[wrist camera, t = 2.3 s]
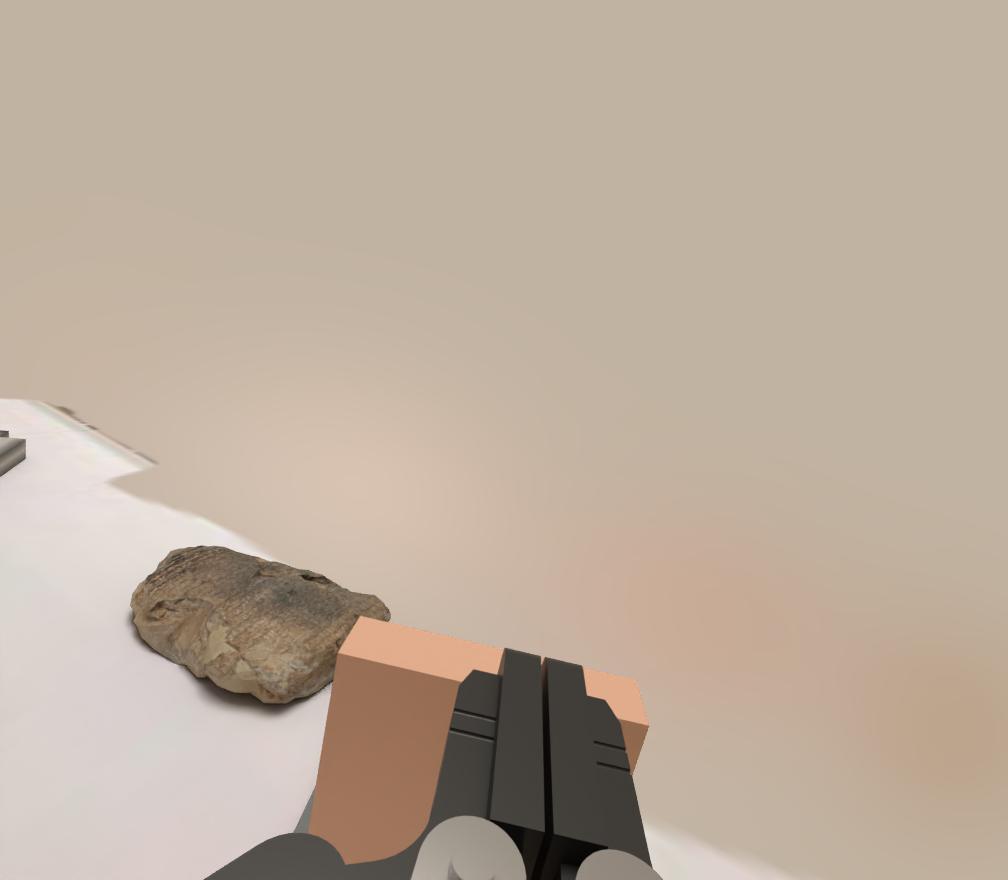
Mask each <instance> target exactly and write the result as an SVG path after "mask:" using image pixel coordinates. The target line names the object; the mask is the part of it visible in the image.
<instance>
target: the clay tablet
mask: <svg viewBox="0 0 1008 880" xmlns="http://www.w3.org/2000/svg"><path fill="white" fill-rule="evenodd" d="M130 606H131V607H132V609H133V613H134V614H135V619H134V620H133V622H134V623H135V624H136V626H137V627H138V630H139V633H140V636H141V638H142V639H143V640H145V641H146V642H147V643H148V644H149V645H150V646H151V647H152V648H153V649H154V650H155V651H157V652H158V653H160V654H161V655H163V656H164V657H166V658H169V659H170V660H171V661H172V662H173V663H175V664H179V665H187V667H188V668H189V669H190V670H191V671H192V672H193V674H194V675H196V676H197V677H198V678H199V677H209V678H210V679H211V680H212V681H213V682H214V683H215V684H216V685H217V686H219V687H222V688H224V689H226V690H229V691H231V692H233V693H250V694H252V695H254V696H255V697H257V698H259V699H260V700H261V701H262V702H263V703H288V702H289V701H291V700H293V699H294V698H300V697H307V696H309V695H311V694H313V693H315V692H317V691H319V690H320V689H321V688H322V687H324V686H325V685H326V684H327V683H329V682H330V681H332V680H333V679H334V673H335V667H336V661H337V655H338V652H339V650H340V648H341V647H342V645H343V643H344V642H345V640H346V638H347V637H348V635H349V634H350V632H351V630H352V629H353V627H354V625H355V624H356V622H357V620H358V619H359V617H360V616H363V617H368V618H372V619H376V620H380V621H385V622H388V621H389V620H390V618H391V614H390V611H389V609H388V608H387V607H386V606H385V604H384V603H383V602H382V601H381V600H380V599H379V598H377V597H376V596H375V595H368V594H361V593H355V592H350V591H349V590H348V589H343V588H342V587H341V586H339V585H338V584H336V583H334V582H332V581H331V580H330V579H327V578H326V577H325V576H323V575H321V574H317V573H314V572H312V571H309V570H299V569H296V568H293V567H290V566H288V565H285V564H281V563H278V562H270V561H267V560H264V559H261V558H259V557H255V556H250V555H246V554H243V553H239V552H235V551H232V550H230V549H228V548H225V547H219V546H209V547H207V546H197V547H188V548H183V549H177V550H173V551H171V552H170V553H169V554H168V555H167V557H166V558H165V559H164V560H163V561H161V562H160V563H159V565H158V567H157V569H156V571H155V572H154V573H152V574H151V575H149V576H148V577H147V578H146V579H145V581H143V582H141V583H140V584H139V585H138V587H137V588H136V590H135V591H134V593H133V595H132V599H131V604H130Z"/></svg>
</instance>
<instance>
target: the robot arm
mask: <svg viewBox="0 0 1008 880" xmlns="http://www.w3.org/2000/svg"><path fill="white" fill-rule="evenodd" d="M630 770H631V769H630V764H629V760H628V755H627V753H626V746H625V741H624V737H623V732H622V728H621V723H620V722H619V720H618V718H617V717H616V715H615V714H614V712H613V711H612V709H611V708H610V706H609V705H608V703H607V702H606V700H604V699H600V698H596V697H592V696H587V692H586V685H585V678H584V671H583V667H582V666H581V665H577V664H572V663H568V662H564V661H560V660H556V659H551V658H547V657H545V658H544V660H543V662H542V665H541V656H538V655H533V654H529V653H525V652H521V651H516V650H512V649H508V648H504V651H503V654H502V657H501V661H500V665H499V669H498V673H497V674H492V673H488V672H484V671H480V670H475V669H473V670H472V671H471V673H470V674H469V675H468V676H467V677H466V678H465V679H464V680H463V682H462V683H461V684H460V685H459V687H458V692H457V696H456V700H455V705H454V709H453V713H452V718H451V722H450V726H449V731H448V735H447V739H446V743H445V748H444V752H443V757H442V761H441V766H440V771H439V775H438V780H437V785H436V789H435V794H434V799H433V803H432V808H431V813H430V817H429V822H428V824H427V826H426V828H425V829H424V831H423V832H422V834H421V835H420V836H419V837H418V839H417V840H416V841H415V842H414V843H413V844H411V845H410V846H409V847H408V848H406V849H405V850H403V851H401V852H400V853H398V854H396V855H394V856H391V857H388V858H386V859H381V860H377V861H370V862H363V863H355V864H348V865H345V862H344V860H343V859H342V857H341V855H340V853H339V852H338V851H337V850H336V848H335V847H334V846H333V845H331V844H330V843H329V842H328V841H326V840H324V839H322V838H320V837H319V836H315V835H312V834H307V833H288V834H284V835H279V836H276V837H274V838H271V839H268V840H266V841H264V842H263V843H261V844H259V845H257V846H255V847H254V848H252V849H251V850H249V851H248V852H246V853H244V854H243V855H241V856H240V857H238V858H237V859H235V860H234V861H232V862H230V863H229V864H227V865H226V866H224V867H223V868H221V869H219V870H218V871H216V872H215V873H213V874H212V875H210V876H208V877H207V878H205V879H204V880H663V879H662V878H661V877H660V875H659V874H658V873H657V872H656V871H655V870H653V868H652V864H651V861H650V856H649V852H648V847H647V842H646V838H645V833H644V829H643V824H642V819H641V815H640V810H639V806H638V801H637V796H636V792H635V787H634V783H633V778H632V775H630Z"/></svg>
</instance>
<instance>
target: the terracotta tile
mask: <svg viewBox="0 0 1008 880" xmlns="http://www.w3.org/2000/svg"><path fill="white" fill-rule="evenodd" d="M503 651H504V649H500V648H496V647H491V646H487V645H483V644H479V643H475V642H470V641H466V640H462V639H457V638H453V637H449V636H445V635H440V634H436V633H432V632H427V631H423V630H419V629H415V628H410V627H406V626H402V625H397V624H393V623H389V622H385V621H380V620H376V619H372V618H368V617H363V616H360V617H359V619H358V620H357V622H356V624H355V625H354V627H353V629H352V630H351V632H350V634H349V635H348V637H347V638H346V640H345V642H344V643H343V645H342V647H341V648H340V650H339V652H338V655H337V661H336V667H335V673H334V679H333V685H332V691H331V697H330V703H329V709H328V715H327V721H326V727H325V733H324V739H323V745H322V751H321V757H320V763H319V770H318V776H317V782H316V788H315V794H314V800H313V806H312V812H311V818H310V824H309V830H308V834H312V835H315V836H319V837H320V838H322V839H324V840H326V841H328V842H329V843H330V844H331V845H333V846H334V847H335V848H336V850H337V851H338V852H339V853H340V855H341V857H342V859H343V860H344V862H345V865H348V864H355V863H363V862H370V861H377V860H381V859H386V858H388V857H391V856H394V855H396V854H398V853H400V852H401V851H403V850H405V849H406V848H408V847H409V846H410V845H411V844H413V843H414V842H415V841H416V840H417V839H418V837H419V836H420V835H421V834H422V832H423V831H424V829H425V828H426V826H427V824H428V822H429V817H430V813H431V808H432V803H433V799H434V794H435V789H436V785H437V780H438V775H439V771H440V766H441V761H442V757H443V752H444V748H445V743H446V739H447V735H448V731H449V726H450V722H451V718H452V713H453V709H454V705H455V700H456V696H457V692H458V687H459V685H460V684H461V683H462V682H463V680H464V679H465V678H466V677H467V676H468V675H469V674H470V673H471V671H472V670H473V669H475V670H480V671H484V672H488V673H492V674H497V673H498V669H499V665H500V661H501V657H502V654H503ZM543 660H544V659H543V658H541V665H542V662H543ZM583 671H584V678H585V685H586V692H587V696H592V697H596V698H600V699H604V700H606V702H607V703H608V705H609V706H610V708H611V709H612V711H613V712H614V714H615V715H616V717H617V718H618V720H619V722H620V723H621V728H622V732H623V737H624V741H625V746H626V753H627V755H628V760H629V764H630V769H631V770H630V775H633V772H634V769H635V766H636V763H637V760H638V757H639V754H640V751H641V748H642V745H643V742H644V739H645V736H646V734H647V731H648V727H649V724H648V720H647V717H646V714H645V710H644V706H643V703H642V699H641V696H640V692H639V689H638V685H637V682H636V680H633V679H629V678H624V677H620V676H616V675H611V674H607V673H603V672H599V671H594V670H590V669H586V668H583Z"/></svg>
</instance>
